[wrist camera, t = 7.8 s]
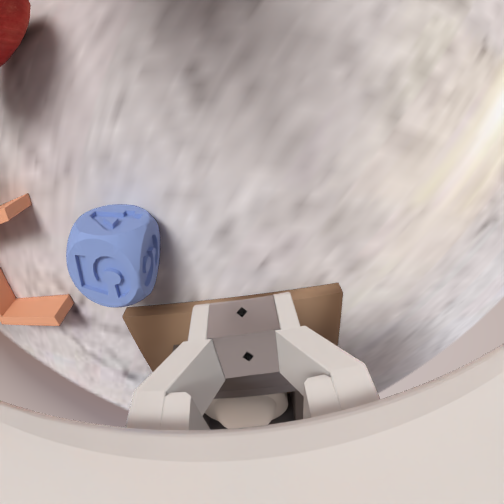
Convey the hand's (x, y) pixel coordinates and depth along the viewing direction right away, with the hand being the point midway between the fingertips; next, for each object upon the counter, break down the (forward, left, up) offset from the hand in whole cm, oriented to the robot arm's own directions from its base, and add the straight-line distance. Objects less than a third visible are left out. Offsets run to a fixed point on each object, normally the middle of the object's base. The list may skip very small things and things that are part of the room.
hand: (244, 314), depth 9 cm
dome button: (+2, +12, -6) cm, 13 cm away
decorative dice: (+7, 0, -7) cm, 10 cm away
